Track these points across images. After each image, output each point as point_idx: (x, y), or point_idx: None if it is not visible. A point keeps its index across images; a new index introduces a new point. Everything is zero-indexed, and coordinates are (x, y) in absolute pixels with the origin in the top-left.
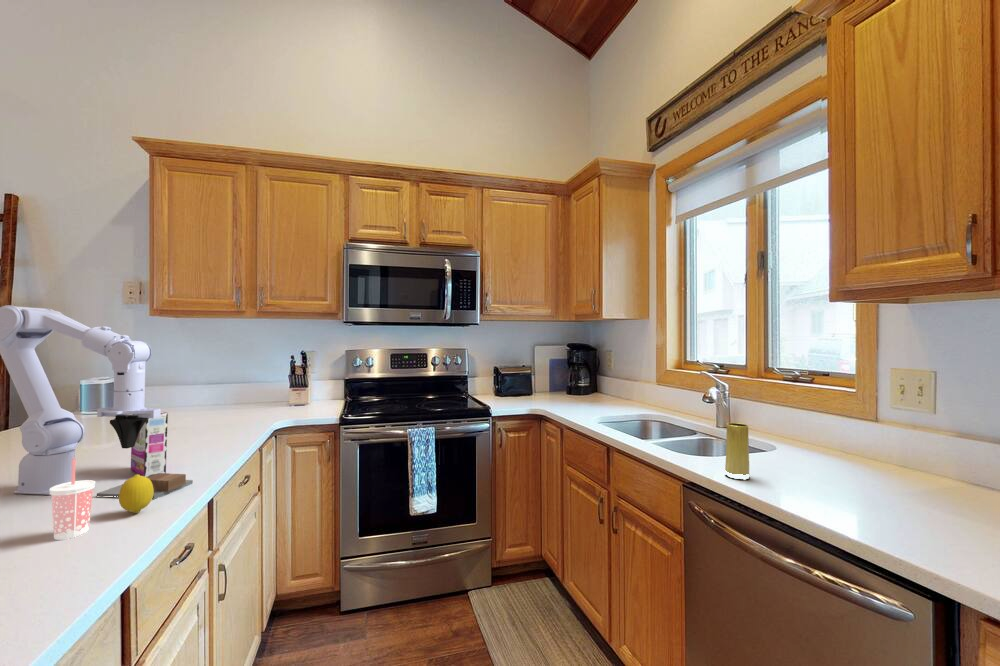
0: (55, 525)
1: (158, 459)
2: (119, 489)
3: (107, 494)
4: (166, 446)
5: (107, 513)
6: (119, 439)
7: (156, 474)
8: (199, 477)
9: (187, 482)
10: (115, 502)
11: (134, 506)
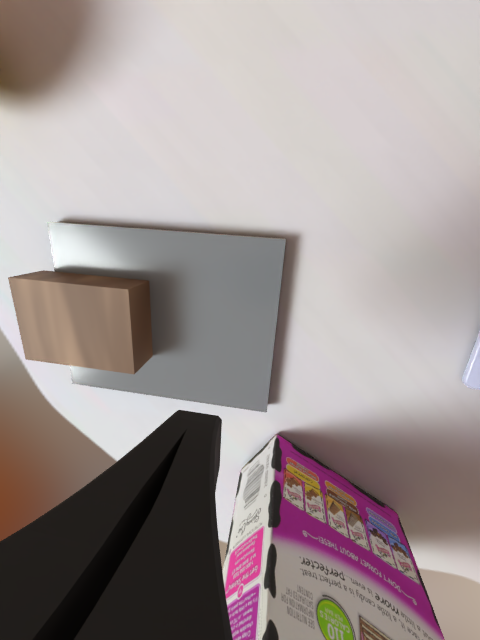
0: None
1: (245, 508)
2: (233, 287)
3: (238, 236)
4: None
5: (82, 57)
6: (205, 465)
7: (127, 357)
8: (109, 430)
9: None
10: (162, 183)
11: None
